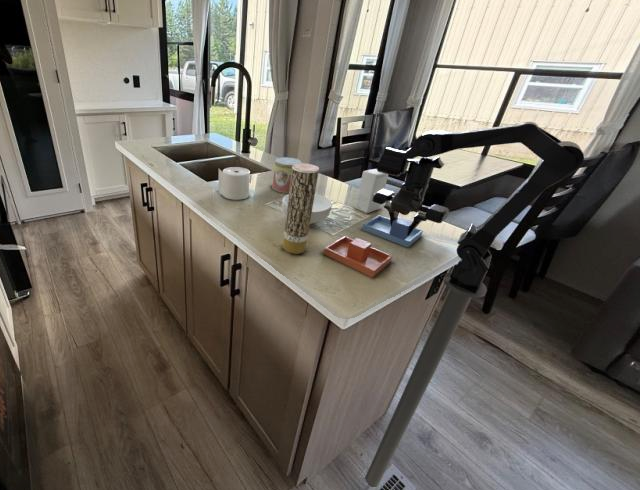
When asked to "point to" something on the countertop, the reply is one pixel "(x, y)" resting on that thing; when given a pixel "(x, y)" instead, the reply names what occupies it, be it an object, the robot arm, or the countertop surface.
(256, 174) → the countertop surface
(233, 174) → the toilet tissue
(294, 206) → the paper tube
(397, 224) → the blue block
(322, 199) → the cereal bowl
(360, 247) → the clay block
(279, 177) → the canned food
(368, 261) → the clay tray
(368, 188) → the cosmetic box
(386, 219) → the blue tray
